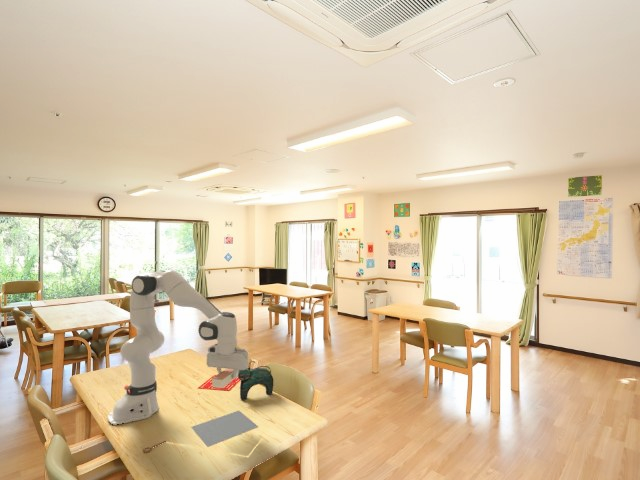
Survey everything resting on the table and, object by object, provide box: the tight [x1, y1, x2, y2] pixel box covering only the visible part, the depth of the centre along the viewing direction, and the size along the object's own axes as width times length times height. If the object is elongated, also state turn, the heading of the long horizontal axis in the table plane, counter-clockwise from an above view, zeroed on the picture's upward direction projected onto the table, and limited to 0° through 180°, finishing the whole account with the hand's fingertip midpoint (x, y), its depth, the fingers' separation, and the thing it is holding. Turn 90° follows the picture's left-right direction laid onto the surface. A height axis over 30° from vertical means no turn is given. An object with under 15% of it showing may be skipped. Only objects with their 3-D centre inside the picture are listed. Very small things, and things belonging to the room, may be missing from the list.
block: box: [211, 368, 238, 389], centre depth 157 cm, size 4×5×14 cm
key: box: [142, 440, 167, 454], centre depth 145 cm, size 6×1×15 cm
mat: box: [190, 410, 259, 448], centre depth 156 cm, size 24×20×1 cm
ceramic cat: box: [238, 360, 274, 401], centre depth 189 cm, size 20×6×20 cm, turn 114°
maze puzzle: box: [197, 374, 241, 392], centre depth 207 cm, size 20×20×1 cm
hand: (227, 377), depth 158 cm, fingers closed on block, 5 cm apart
